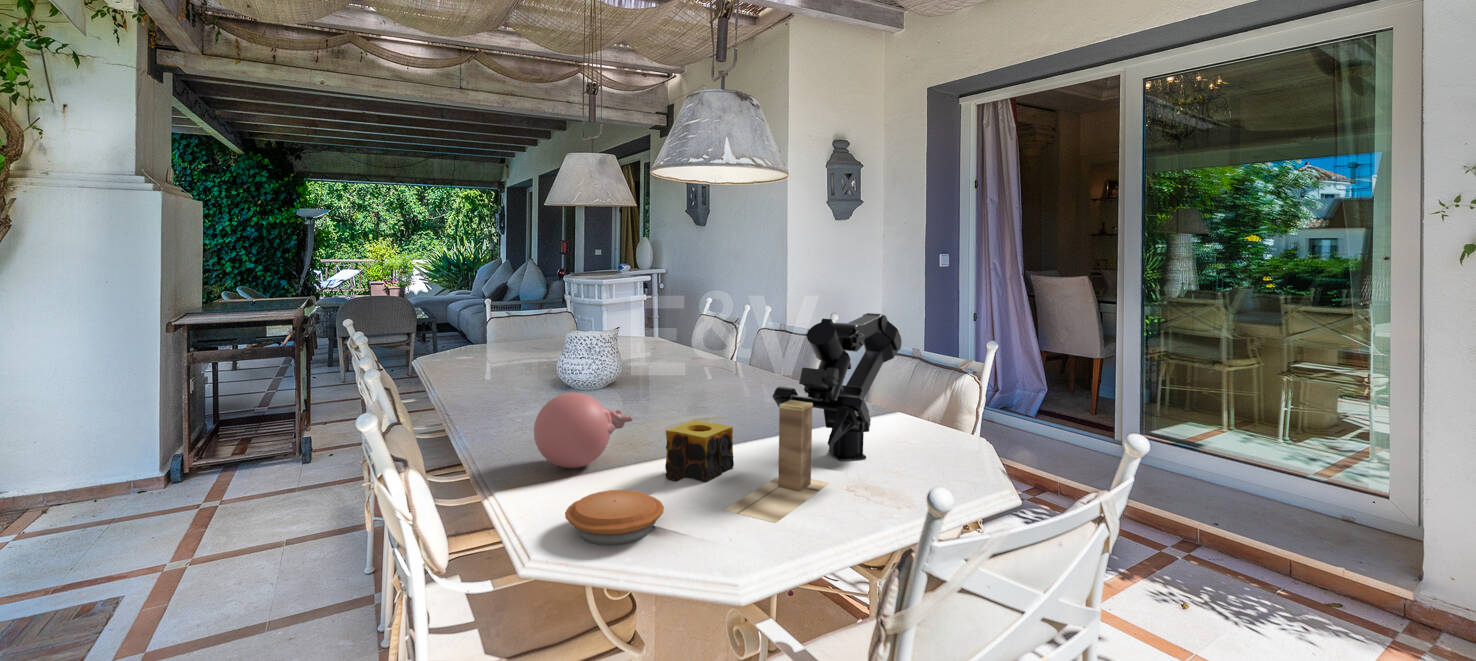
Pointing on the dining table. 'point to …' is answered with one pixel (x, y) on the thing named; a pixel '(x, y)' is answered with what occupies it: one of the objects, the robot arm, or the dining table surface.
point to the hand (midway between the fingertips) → (806, 441)
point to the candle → (699, 451)
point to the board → (774, 500)
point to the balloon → (575, 429)
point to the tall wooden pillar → (795, 445)
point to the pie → (614, 516)
